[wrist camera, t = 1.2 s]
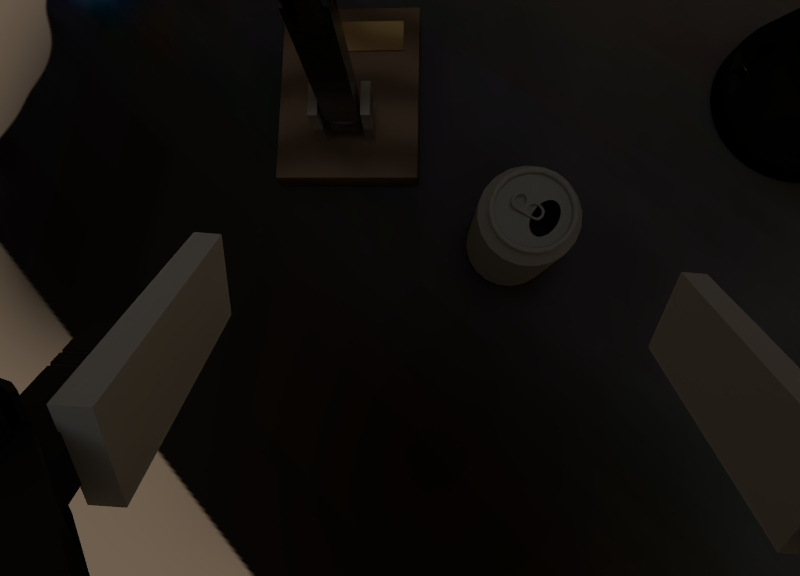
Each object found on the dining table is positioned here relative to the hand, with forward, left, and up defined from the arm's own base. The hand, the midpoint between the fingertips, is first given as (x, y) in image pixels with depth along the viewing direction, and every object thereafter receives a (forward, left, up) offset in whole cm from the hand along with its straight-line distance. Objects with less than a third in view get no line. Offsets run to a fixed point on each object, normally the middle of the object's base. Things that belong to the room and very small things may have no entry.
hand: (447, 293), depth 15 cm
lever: (-3, -21, -28) cm, 35 cm away
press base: (-5, -24, -31) cm, 39 cm away
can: (-10, -4, -31) cm, 33 cm away
